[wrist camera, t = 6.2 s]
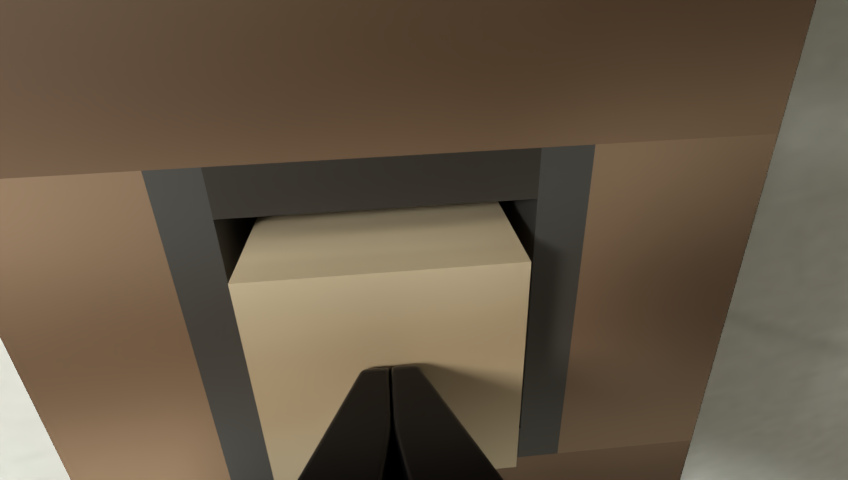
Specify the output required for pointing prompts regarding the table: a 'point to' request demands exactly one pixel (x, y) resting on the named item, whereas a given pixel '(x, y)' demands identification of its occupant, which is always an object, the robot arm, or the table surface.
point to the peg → (383, 318)
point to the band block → (378, 200)
